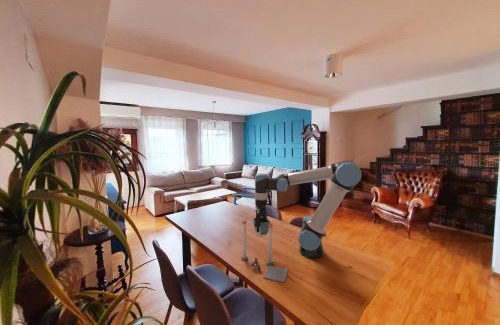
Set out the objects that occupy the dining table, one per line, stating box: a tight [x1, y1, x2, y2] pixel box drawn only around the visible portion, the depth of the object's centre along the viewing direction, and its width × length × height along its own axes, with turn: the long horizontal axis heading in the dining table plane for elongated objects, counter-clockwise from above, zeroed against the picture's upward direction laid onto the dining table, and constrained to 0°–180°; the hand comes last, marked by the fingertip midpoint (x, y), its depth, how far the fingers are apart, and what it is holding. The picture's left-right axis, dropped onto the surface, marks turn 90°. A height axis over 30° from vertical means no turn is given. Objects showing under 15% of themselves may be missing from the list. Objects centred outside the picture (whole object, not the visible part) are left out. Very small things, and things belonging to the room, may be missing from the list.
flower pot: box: [252, 217, 271, 236], centre depth 134 cm, size 9×9×9 cm
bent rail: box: [250, 257, 262, 272], centre depth 123 cm, size 8×5×3 cm, turn 160°
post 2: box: [266, 222, 274, 266], centre depth 124 cm, size 4×4×24 cm
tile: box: [263, 265, 289, 283], centre depth 116 cm, size 11×11×1 cm
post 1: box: [240, 219, 249, 261], centre depth 130 cm, size 4×4×24 cm
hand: (261, 232), depth 135 cm, fingers closed on flower pot, 11 cm apart
